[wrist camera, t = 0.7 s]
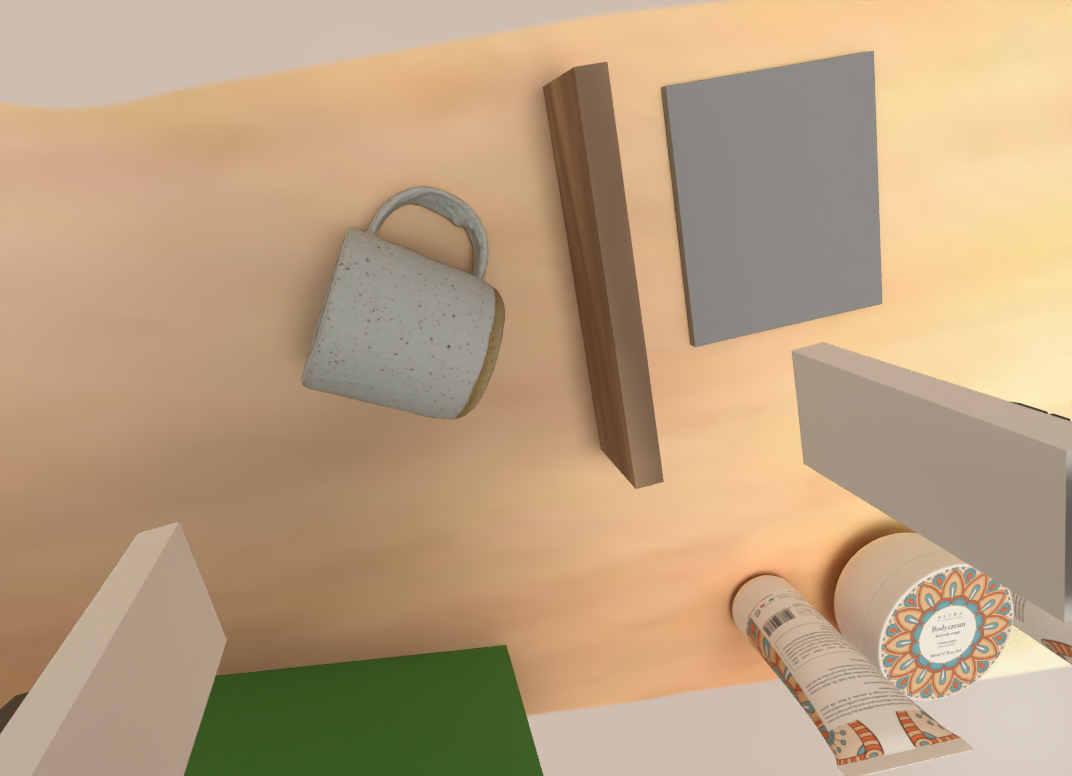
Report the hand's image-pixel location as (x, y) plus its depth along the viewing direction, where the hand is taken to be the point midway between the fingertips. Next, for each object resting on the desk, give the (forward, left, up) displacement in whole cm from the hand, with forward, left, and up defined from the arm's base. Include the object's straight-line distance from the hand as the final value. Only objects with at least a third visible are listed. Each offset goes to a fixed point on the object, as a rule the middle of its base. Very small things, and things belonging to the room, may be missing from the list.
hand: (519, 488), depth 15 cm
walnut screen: (+9, 0, -25) cm, 26 cm away
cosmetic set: (+26, -24, -25) cm, 43 cm away
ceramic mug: (-1, +1, -25) cm, 25 cm away
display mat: (+20, +2, -25) cm, 32 cm away
